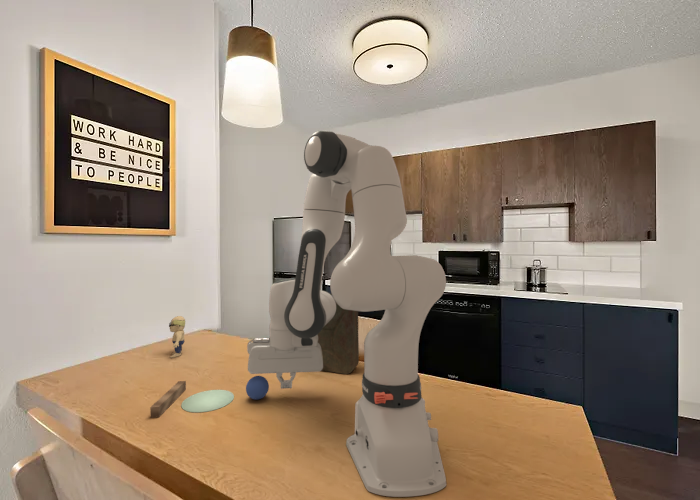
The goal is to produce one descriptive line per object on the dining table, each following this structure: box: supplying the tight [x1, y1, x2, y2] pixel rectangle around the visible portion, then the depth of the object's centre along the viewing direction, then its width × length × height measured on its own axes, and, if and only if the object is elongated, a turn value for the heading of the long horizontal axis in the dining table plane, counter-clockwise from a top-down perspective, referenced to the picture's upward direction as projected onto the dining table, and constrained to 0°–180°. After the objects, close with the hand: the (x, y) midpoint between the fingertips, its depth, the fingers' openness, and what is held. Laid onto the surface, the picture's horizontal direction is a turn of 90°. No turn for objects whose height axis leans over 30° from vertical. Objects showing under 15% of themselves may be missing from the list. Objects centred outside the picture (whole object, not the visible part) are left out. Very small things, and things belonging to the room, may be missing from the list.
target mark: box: [180, 389, 235, 413], centre depth 91 cm, size 13×13×1 cm
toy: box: [168, 315, 186, 358], centre depth 130 cm, size 13×6×15 cm, turn 17°
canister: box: [317, 293, 360, 375], centre depth 114 cm, size 19×8×25 cm, turn 70°
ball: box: [245, 375, 270, 401], centre depth 92 cm, size 6×6×6 cm
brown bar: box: [149, 380, 187, 418], centre depth 90 cm, size 16×2×2 cm, turn 4°
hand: (286, 387), depth 93 cm, fingers closed
